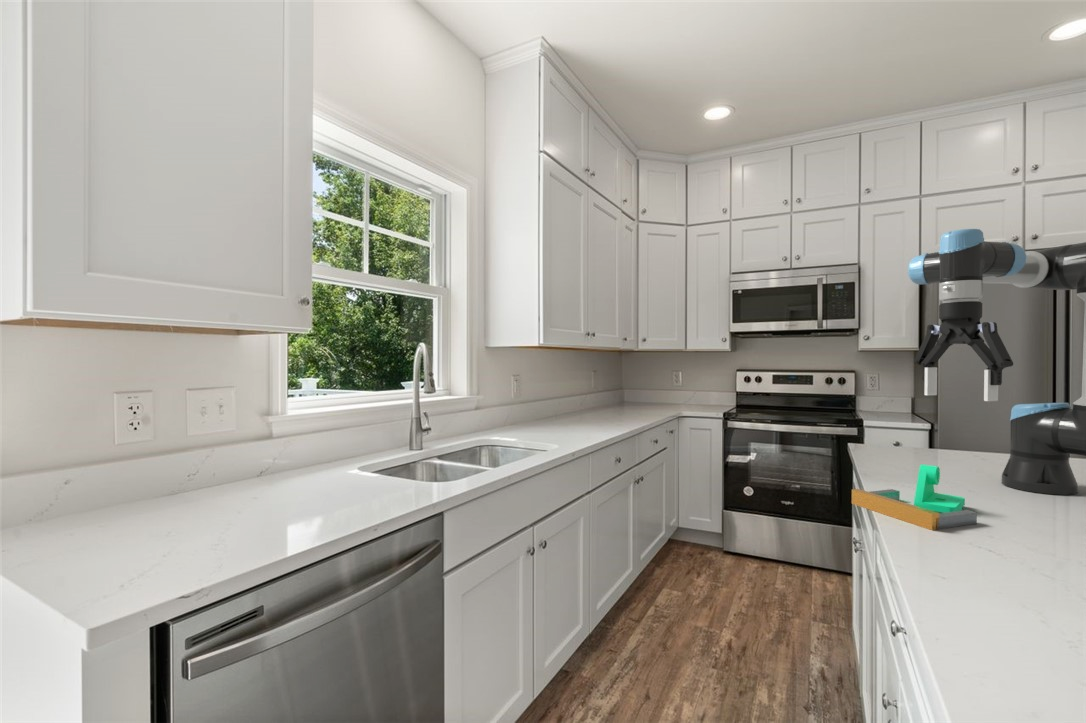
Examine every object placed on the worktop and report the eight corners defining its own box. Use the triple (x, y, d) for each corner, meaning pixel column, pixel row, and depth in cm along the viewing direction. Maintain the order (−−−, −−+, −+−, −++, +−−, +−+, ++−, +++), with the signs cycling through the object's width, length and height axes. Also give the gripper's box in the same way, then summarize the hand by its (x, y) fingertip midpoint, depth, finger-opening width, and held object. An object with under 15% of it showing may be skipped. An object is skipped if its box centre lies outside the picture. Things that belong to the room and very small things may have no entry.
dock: (892, 499, 134) (892, 485, 134) (976, 523, 115) (976, 507, 115) (851, 503, 131) (851, 489, 131) (932, 530, 112) (932, 513, 111)
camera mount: (954, 519, 119) (955, 474, 119) (914, 511, 125) (914, 468, 124) (965, 508, 127) (966, 465, 127) (927, 501, 133) (927, 460, 132)
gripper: (897, 305, 128) (896, 393, 128) (1007, 295, 104) (1005, 404, 104) (922, 306, 129) (921, 392, 130) (1037, 296, 105) (1035, 403, 106)
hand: (959, 398), depth 117 cm, fingers open, 13 cm apart
